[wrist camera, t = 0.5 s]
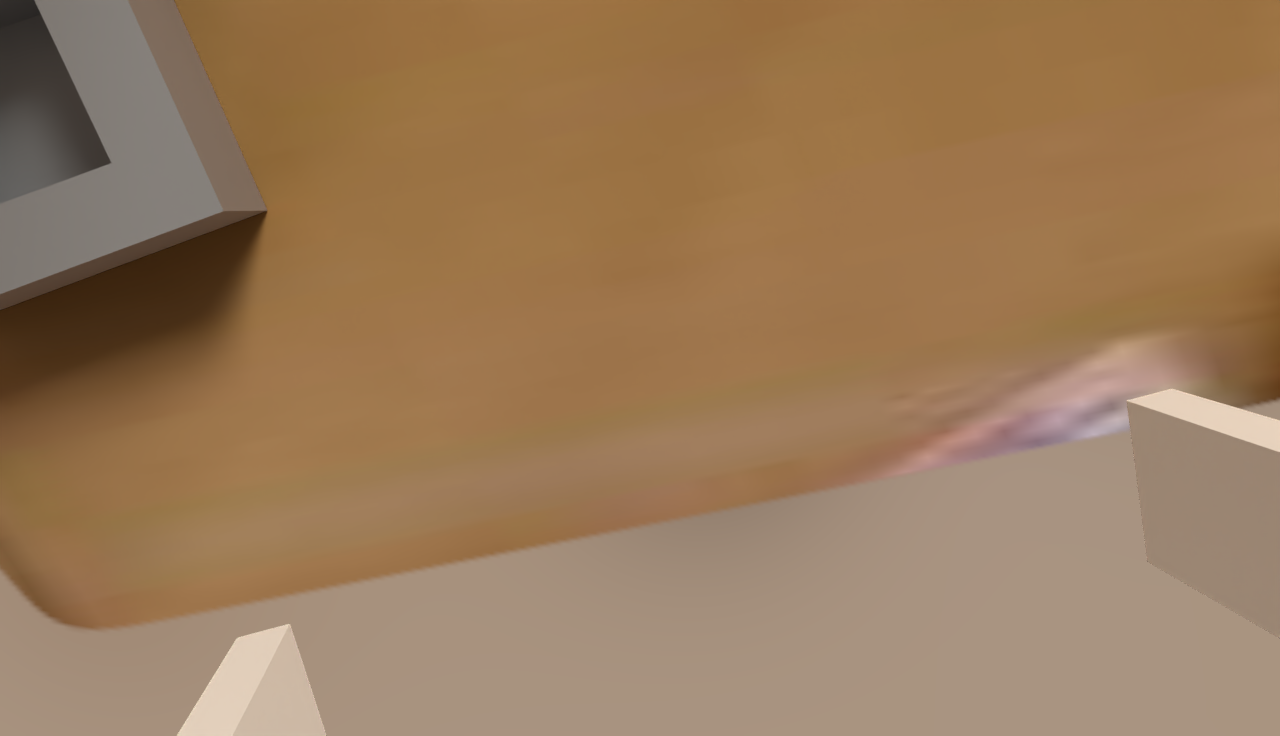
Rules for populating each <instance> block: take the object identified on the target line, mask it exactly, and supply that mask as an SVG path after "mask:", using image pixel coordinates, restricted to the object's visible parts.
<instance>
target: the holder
mask: <svg viewBox="0 0 1280 736" xmlns="http://www.w3.org/2000/svg"><path fill="white" fill-rule="evenodd" d="M265 211H267V209H266V206H265V204H264V202H263V200H262V197H261V195H260V193H259V191H258V188H257V186H256V184H255V182H254V179H253V177H252V175H251V173H250V170H249V168H248V166H247V164H246V161H245V159H244V157H243V155H242V152H241V150H240V148H239V146H238V143H237V141H236V139H235V137H234V134H233V132H232V130H231V128H230V125H229V123H228V121H227V119H226V116H225V114H224V112H223V110H222V107H221V105H220V103H219V101H218V98H217V96H216V94H215V92H214V89H213V87H212V85H211V83H210V80H209V78H208V76H207V74H206V71H205V69H204V67H203V65H202V62H201V60H200V58H199V56H198V53H197V51H196V49H195V47H194V44H193V42H192V40H191V38H190V35H189V33H188V31H187V29H186V26H185V24H184V22H183V20H182V17H181V15H180V13H179V11H178V9H177V6H176V4H175V2H174V0H0V310H2V309H5V308H7V307H10V306H13V305H15V304H18V303H21V302H23V301H26V300H29V299H31V298H34V297H37V296H39V295H42V294H45V293H48V292H50V291H53V290H56V289H58V288H61V287H64V286H66V285H69V284H72V283H74V282H77V281H80V280H82V279H85V278H88V277H90V276H93V275H96V274H98V273H101V272H104V271H107V270H109V269H112V268H115V267H117V266H120V265H123V264H125V263H128V262H131V261H133V260H136V259H139V258H141V257H144V256H147V255H149V254H152V253H155V252H157V251H160V250H163V249H166V248H168V247H171V246H174V245H176V244H179V243H182V242H184V241H187V240H190V239H192V238H195V237H198V236H200V235H203V234H206V233H208V232H211V231H214V230H216V229H219V228H222V227H225V226H227V225H230V224H233V223H235V222H238V221H241V220H243V219H246V218H249V217H251V216H254V215H257V214H259V213H262V212H265Z"/></svg>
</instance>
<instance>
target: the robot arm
mask: <svg viewBox="0 0 1280 736" xmlns="http://www.w3.org/2000/svg"><path fill="white" fill-rule="evenodd" d="M1127 408H1128V415H1129V423H1130V431H1131V439H1132V446H1133V454H1134V461H1135V469H1136V477H1137V484H1138V492H1139V500H1140V508H1141V516H1142V523H1143V531H1144V539H1145V547H1146V553H1147V562H1149V563H1150V564H1152V565H1154V566H1155V567H1157V568H1159V569H1161V570H1162V571H1164V572H1166V573H1168V574H1169V575H1171V576H1173V577H1174V578H1176V579H1178V580H1180V581H1181V582H1183V583H1185V584H1187V585H1188V586H1190V587H1192V588H1194V589H1195V590H1197V591H1199V592H1200V593H1202V594H1204V595H1206V596H1207V597H1209V598H1211V599H1213V600H1214V601H1216V602H1218V603H1219V604H1221V605H1223V606H1225V607H1226V608H1228V609H1230V610H1231V611H1233V612H1235V613H1237V614H1238V615H1240V616H1242V617H1244V618H1245V619H1247V620H1249V621H1250V622H1252V623H1254V624H1256V625H1258V626H1259V627H1261V628H1263V629H1264V630H1266V631H1268V632H1269V633H1271V634H1273V635H1275V636H1277V637H1278V638H1280V421H1279V420H1276V419H1273V418H1269V417H1266V416H1262V415H1259V414H1256V413H1252V412H1249V411H1245V410H1242V409H1239V408H1235V407H1232V406H1229V405H1225V404H1222V403H1218V402H1215V401H1212V400H1208V399H1205V398H1202V397H1198V396H1195V395H1191V394H1188V393H1185V392H1181V391H1178V390H1174V389H1169V390H1165V391H1161V392H1157V393H1154V394H1150V395H1146V396H1142V397H1139V398H1135V399H1131V400H1127ZM177 736H327V735H326V732H325V729H324V726H323V723H322V720H321V717H320V714H319V711H318V708H317V705H316V702H315V699H314V696H313V693H312V690H311V687H310V683H309V680H308V678H307V674H306V671H305V668H304V665H303V662H302V659H301V656H300V653H299V650H298V647H297V644H296V641H295V638H294V635H293V632H292V628H291V625H290V624H287V625H284V626H279V627H276V628H272V629H269V630H265V631H261V632H257V633H253V634H249V635H246V636H242V637H238V638H237V639H236V640H235V642H234V644H233V645H232V647H231V649H230V650H229V652H228V653H227V655H226V657H225V658H224V660H223V661H222V663H221V665H220V667H219V668H218V670H217V671H216V673H215V675H214V676H213V678H212V679H211V681H210V683H209V684H208V686H207V688H206V689H205V691H204V692H203V694H202V696H201V697H200V699H199V700H198V702H197V704H196V705H195V707H194V709H193V710H192V712H191V714H190V715H189V717H188V718H187V720H186V722H185V723H184V725H183V726H182V728H181V730H180V731H179V733H178V735H177Z"/></svg>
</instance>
